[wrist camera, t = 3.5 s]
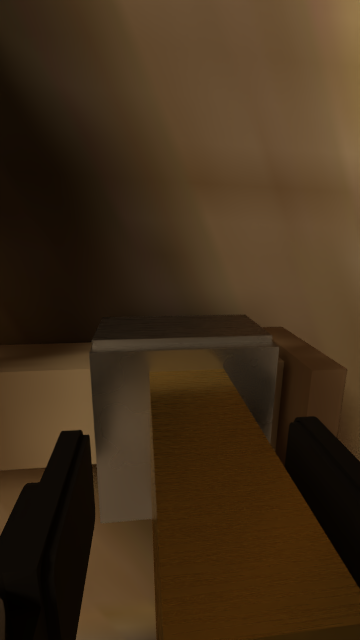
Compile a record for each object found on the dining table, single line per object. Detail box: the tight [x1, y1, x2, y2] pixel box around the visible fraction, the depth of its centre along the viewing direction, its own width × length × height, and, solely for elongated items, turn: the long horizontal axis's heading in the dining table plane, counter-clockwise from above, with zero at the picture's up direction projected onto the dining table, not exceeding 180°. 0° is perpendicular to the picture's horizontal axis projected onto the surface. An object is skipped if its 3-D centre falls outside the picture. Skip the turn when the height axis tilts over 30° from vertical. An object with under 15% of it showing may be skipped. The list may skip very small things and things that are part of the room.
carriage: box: [89, 315, 360, 640], centre depth 9 cm, size 6×7×11 cm
